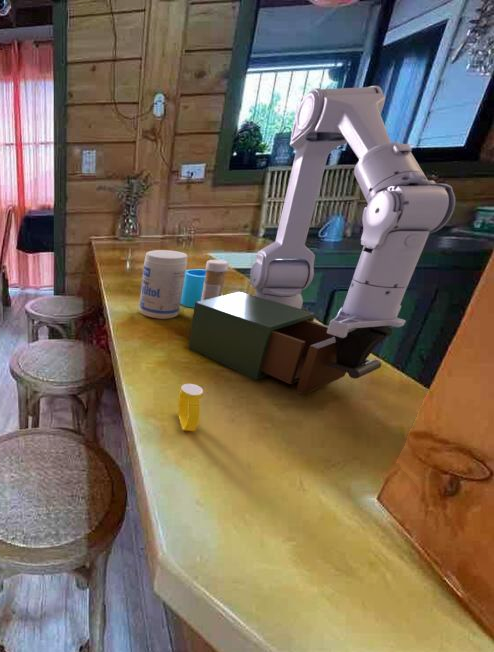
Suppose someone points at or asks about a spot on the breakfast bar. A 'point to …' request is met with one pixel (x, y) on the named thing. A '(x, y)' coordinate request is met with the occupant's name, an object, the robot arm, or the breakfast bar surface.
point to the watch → (189, 406)
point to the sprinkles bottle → (214, 279)
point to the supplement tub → (162, 283)
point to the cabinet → (240, 329)
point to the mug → (193, 287)
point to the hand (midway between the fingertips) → (346, 370)
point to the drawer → (308, 357)
